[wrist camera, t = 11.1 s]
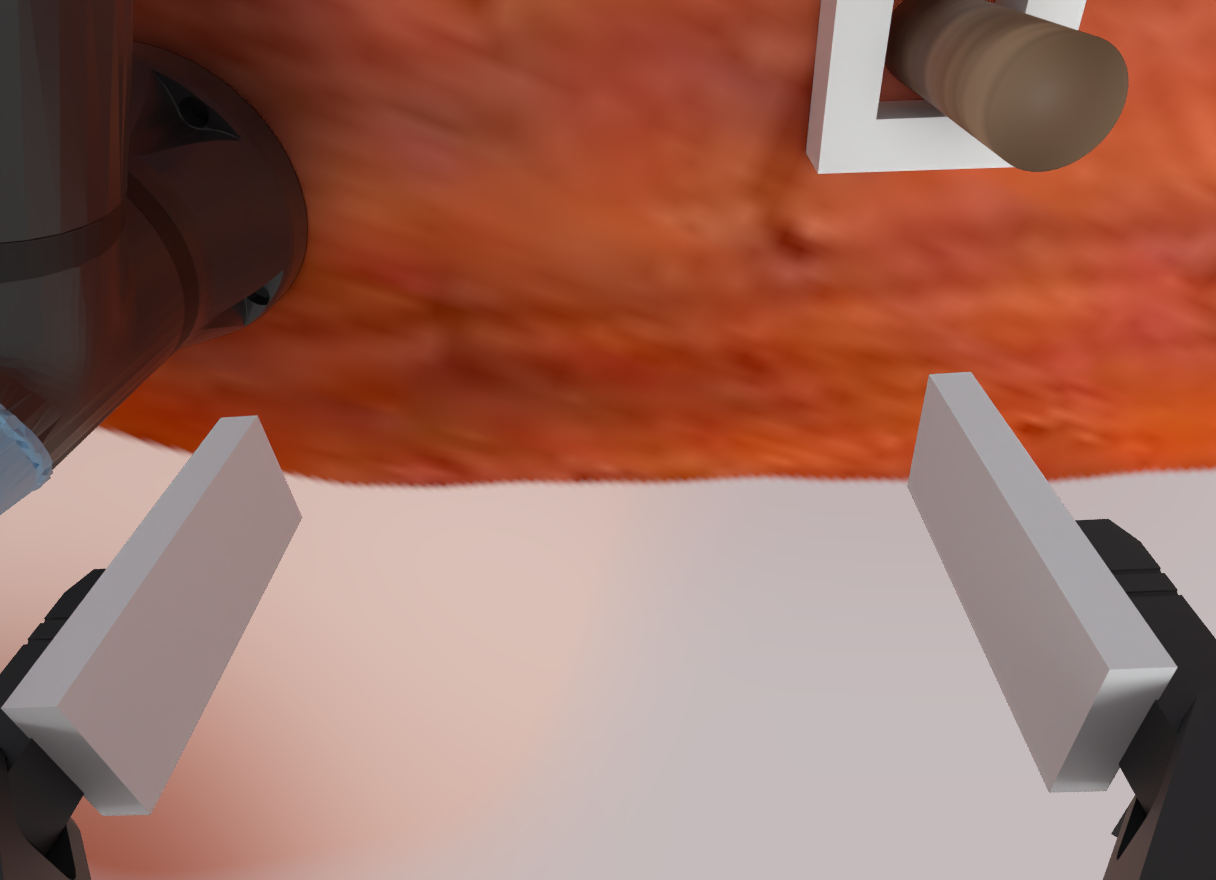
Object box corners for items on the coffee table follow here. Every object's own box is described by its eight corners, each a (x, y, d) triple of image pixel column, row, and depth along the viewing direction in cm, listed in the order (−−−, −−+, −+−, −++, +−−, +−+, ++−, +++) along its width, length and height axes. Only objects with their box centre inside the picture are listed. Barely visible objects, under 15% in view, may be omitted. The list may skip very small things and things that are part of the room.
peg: (875, 86, 36) (977, 174, 25) (888, -11, 34) (1006, 38, 23) (962, 81, 36) (1104, 168, 25) (981, -17, 34) (1147, 29, 22)
